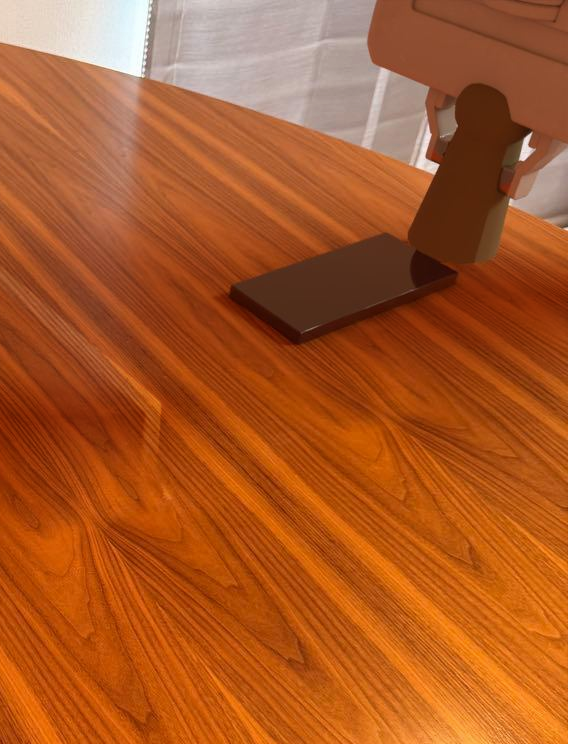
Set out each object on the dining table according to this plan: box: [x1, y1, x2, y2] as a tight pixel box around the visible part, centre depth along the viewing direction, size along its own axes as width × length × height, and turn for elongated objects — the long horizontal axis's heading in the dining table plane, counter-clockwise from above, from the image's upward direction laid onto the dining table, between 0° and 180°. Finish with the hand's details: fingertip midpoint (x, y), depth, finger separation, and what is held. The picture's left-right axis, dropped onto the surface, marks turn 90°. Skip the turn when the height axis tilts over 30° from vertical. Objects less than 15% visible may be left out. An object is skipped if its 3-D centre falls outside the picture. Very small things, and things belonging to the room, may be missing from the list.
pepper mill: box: [407, 83, 533, 265], centre depth 64 cm, size 6×6×11 cm
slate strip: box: [228, 231, 460, 345], centre depth 89 cm, size 20×9×1 cm, turn 122°
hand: (474, 177), depth 64 cm, fingers closed on pepper mill, 4 cm apart
